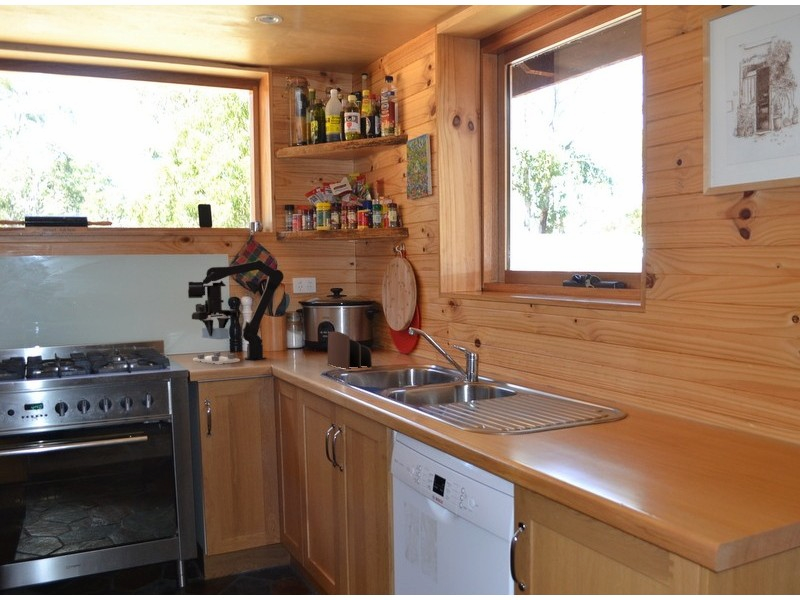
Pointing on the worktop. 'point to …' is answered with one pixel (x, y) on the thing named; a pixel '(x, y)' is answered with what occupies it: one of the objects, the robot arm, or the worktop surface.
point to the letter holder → (347, 352)
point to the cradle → (216, 358)
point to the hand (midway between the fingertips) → (215, 335)
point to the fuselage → (216, 333)
